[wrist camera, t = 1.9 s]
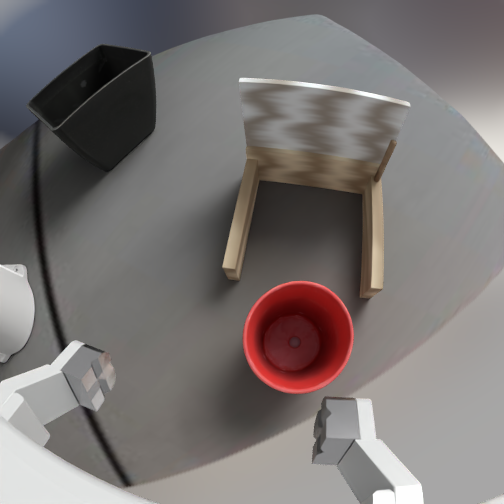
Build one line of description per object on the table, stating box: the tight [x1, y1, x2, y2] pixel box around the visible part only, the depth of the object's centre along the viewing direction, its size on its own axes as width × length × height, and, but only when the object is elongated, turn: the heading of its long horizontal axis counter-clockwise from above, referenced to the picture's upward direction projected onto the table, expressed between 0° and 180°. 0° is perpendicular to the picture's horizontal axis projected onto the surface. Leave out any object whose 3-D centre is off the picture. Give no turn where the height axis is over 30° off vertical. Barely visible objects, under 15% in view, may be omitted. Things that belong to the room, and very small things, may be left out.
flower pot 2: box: [243, 281, 354, 394], centre depth 31 cm, size 11×11×10 cm
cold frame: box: [223, 78, 410, 299], centre depth 33 cm, size 19×18×18 cm
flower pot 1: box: [26, 44, 156, 171], centre depth 43 cm, size 19×19×17 cm
